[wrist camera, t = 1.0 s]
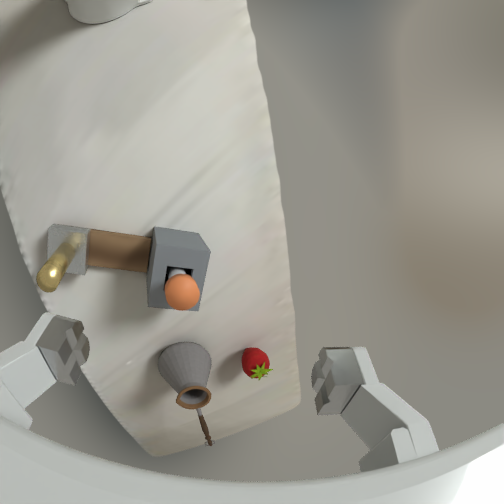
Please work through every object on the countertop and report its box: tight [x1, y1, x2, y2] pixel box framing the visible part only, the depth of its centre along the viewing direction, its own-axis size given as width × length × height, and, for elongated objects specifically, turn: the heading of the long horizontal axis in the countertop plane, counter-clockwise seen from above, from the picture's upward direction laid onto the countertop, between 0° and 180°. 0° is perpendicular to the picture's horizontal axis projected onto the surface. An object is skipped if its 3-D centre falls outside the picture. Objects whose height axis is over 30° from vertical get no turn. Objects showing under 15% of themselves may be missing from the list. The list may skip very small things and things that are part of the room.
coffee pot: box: [158, 342, 215, 446], centre depth 54 cm, size 21×12×15 cm, turn 4°
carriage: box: [36, 224, 91, 292], centre depth 35 cm, size 7×7×14 cm
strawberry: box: [242, 348, 273, 380], centre depth 59 cm, size 6×8×10 cm
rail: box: [87, 228, 151, 273], centre depth 45 cm, size 6×18×2 cm, turn 75°
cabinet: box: [147, 227, 211, 311], centre depth 46 cm, size 11×8×10 cm
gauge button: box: [165, 266, 200, 310], centre depth 42 cm, size 5×5×11 cm
